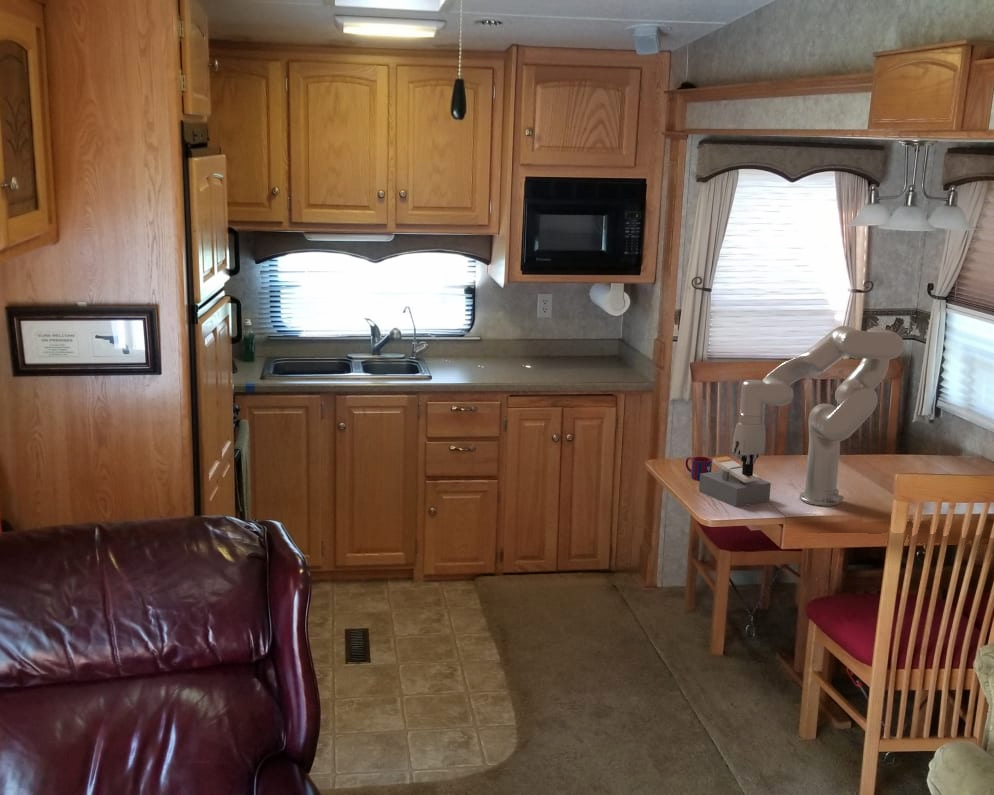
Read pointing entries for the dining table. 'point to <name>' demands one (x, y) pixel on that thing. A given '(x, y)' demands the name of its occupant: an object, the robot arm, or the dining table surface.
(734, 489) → the switch box
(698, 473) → the mug
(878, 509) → the dining table surface
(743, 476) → the rocker
